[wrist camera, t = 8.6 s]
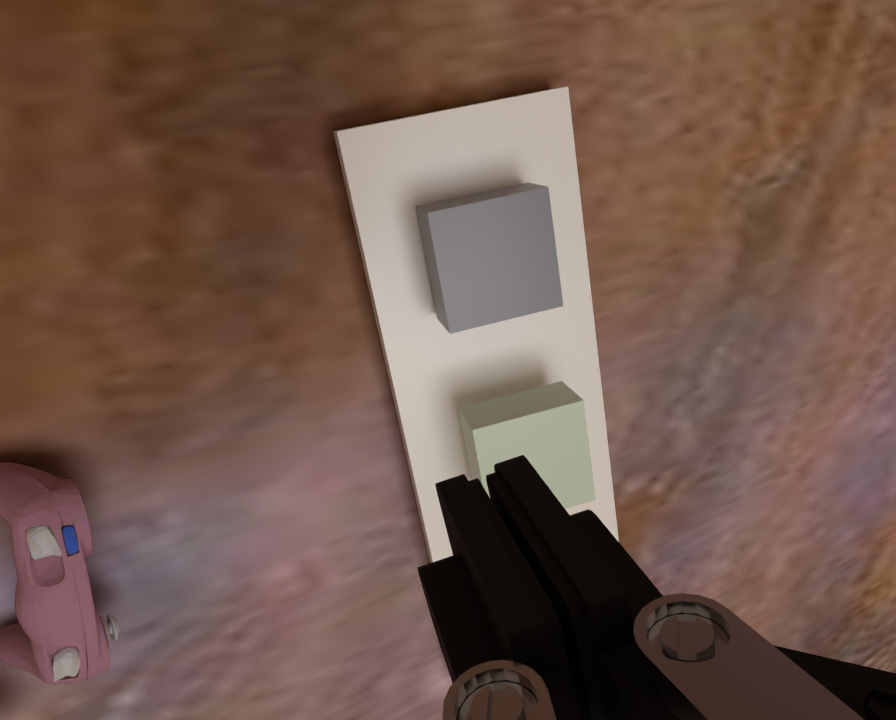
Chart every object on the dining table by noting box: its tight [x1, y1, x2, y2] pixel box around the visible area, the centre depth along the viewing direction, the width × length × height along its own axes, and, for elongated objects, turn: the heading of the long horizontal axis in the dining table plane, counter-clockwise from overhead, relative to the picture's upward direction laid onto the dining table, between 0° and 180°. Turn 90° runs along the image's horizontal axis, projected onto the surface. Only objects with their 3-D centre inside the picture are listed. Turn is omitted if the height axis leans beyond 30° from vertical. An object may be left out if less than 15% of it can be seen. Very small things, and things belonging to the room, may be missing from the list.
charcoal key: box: [415, 182, 563, 334], centre depth 30 cm, size 5×5×2 cm
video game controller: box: [0, 462, 119, 684], centre depth 31 cm, size 10×5×7 cm, turn 179°
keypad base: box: [333, 87, 619, 563], centre depth 35 cm, size 30×10×2 cm, turn 10°
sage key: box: [458, 381, 596, 509], centre depth 32 cm, size 5×5×2 cm
